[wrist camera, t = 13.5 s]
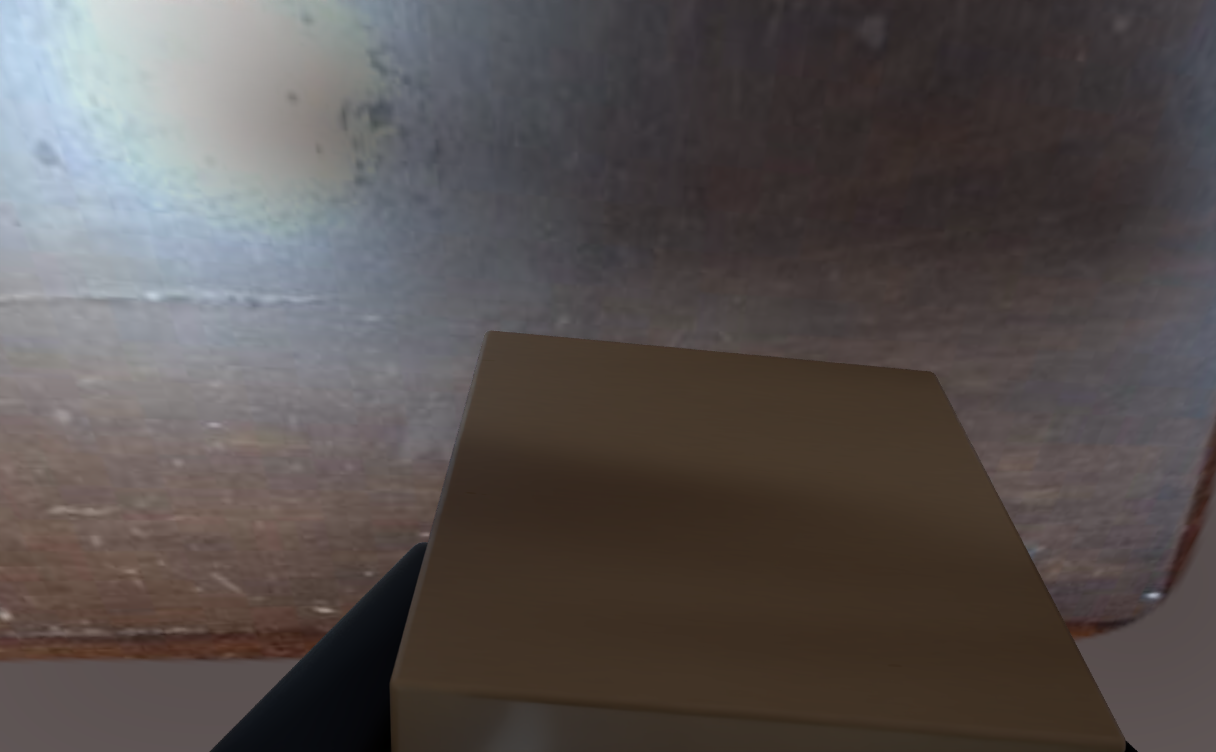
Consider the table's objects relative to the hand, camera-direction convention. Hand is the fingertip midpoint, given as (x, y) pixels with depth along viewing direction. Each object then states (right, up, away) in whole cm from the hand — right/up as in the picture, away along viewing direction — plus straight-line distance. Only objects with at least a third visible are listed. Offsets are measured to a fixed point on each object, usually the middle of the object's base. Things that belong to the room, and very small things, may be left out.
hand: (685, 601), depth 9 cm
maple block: (0, +1, +1) cm, 1 cm away
